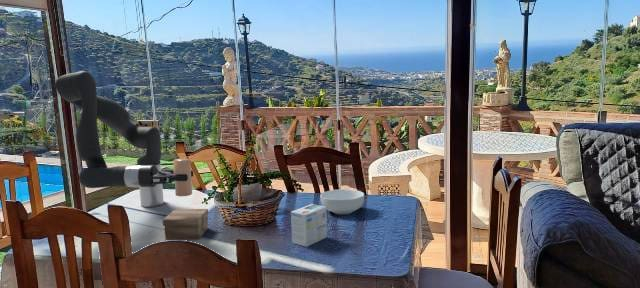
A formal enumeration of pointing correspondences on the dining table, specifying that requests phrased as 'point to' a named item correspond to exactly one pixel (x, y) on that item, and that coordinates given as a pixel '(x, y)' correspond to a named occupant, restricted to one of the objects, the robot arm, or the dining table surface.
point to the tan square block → (185, 224)
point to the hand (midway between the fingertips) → (190, 175)
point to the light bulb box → (309, 224)
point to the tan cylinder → (183, 168)
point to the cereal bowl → (342, 200)
